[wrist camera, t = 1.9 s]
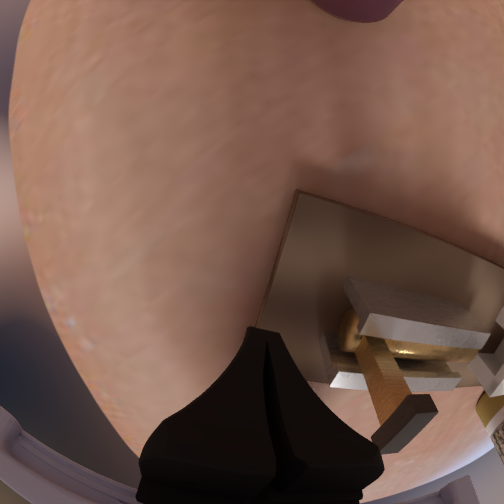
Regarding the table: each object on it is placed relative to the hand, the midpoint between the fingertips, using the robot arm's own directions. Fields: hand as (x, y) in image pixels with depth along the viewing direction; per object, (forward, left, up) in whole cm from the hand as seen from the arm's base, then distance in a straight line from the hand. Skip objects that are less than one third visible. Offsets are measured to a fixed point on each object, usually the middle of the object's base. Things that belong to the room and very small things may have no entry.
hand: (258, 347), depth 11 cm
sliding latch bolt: (0, -10, -4) cm, 11 cm away
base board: (0, -14, -6) cm, 15 cm away
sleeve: (0, -9, -5) cm, 11 cm away
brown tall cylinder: (-9, -34, -6) cm, 36 cm away
